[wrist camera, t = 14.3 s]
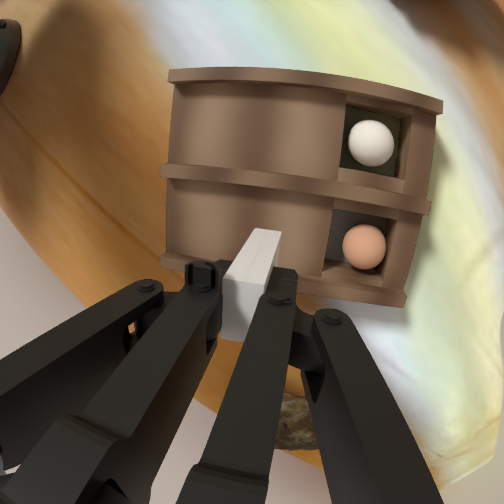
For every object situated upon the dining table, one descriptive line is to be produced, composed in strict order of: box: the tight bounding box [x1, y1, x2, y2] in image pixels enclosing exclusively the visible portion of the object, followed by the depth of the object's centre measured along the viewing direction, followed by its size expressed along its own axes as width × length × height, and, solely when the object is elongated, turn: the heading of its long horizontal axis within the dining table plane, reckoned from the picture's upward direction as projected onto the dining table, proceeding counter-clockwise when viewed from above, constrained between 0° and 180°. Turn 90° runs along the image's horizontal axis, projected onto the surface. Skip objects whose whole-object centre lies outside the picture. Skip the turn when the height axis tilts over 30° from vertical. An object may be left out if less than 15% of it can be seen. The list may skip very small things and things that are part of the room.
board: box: [160, 67, 443, 308], centre depth 22 cm, size 20×16×4 cm
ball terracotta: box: [342, 224, 386, 269], centre depth 22 cm, size 4×4×4 cm
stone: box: [274, 393, 319, 451], centre depth 30 cm, size 13×8×8 cm
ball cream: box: [348, 120, 394, 166], centre depth 20 cm, size 4×4×4 cm
